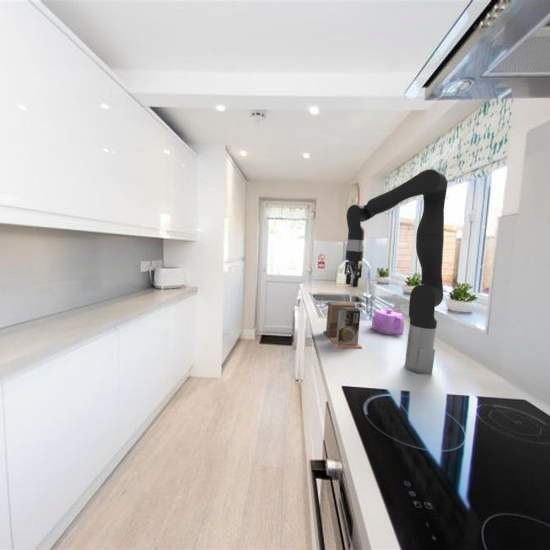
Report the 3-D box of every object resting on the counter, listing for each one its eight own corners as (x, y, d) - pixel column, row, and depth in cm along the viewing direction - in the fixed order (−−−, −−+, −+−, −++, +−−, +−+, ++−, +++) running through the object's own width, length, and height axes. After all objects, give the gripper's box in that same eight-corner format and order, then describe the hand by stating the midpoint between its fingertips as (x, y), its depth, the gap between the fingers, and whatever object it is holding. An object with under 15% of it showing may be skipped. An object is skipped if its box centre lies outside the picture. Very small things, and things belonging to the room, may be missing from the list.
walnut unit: (354, 338, 151) (358, 305, 149) (327, 337, 149) (330, 304, 147) (349, 333, 159) (352, 302, 157) (323, 332, 157) (326, 301, 155)
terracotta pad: (361, 348, 136) (362, 346, 136) (338, 347, 135) (338, 346, 135) (352, 340, 147) (352, 338, 147) (331, 339, 146) (331, 338, 146)
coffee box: (355, 341, 144) (358, 307, 142) (357, 345, 137) (361, 311, 136) (335, 339, 144) (338, 306, 143) (337, 343, 138) (340, 309, 136)
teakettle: (403, 337, 158) (406, 314, 156) (369, 332, 164) (371, 310, 163) (403, 329, 173) (405, 308, 172) (372, 325, 180) (374, 304, 178)
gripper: (341, 249, 143) (338, 283, 145) (352, 250, 129) (349, 287, 131) (356, 250, 144) (353, 283, 146) (369, 251, 130) (365, 288, 132)
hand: (351, 285), depth 138 cm, fingers open, 8 cm apart
